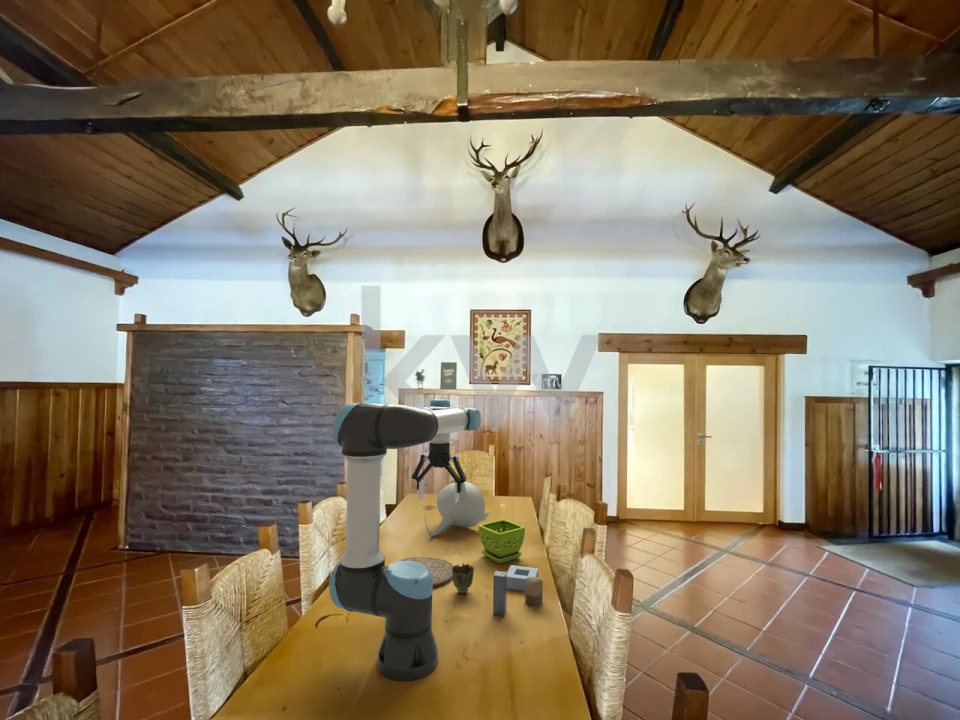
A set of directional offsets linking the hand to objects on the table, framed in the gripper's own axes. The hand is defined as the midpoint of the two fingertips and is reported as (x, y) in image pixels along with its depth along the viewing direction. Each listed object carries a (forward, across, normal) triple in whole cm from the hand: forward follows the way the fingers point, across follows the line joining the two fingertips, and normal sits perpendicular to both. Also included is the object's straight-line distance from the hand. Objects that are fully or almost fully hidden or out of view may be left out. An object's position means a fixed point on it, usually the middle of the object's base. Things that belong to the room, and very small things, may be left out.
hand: (438, 500), depth 168 cm
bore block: (+27, -31, -2) cm, 41 cm away
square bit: (+27, -27, +20) cm, 43 cm away
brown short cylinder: (+27, -36, +10) cm, 46 cm away
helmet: (+27, +6, -49) cm, 56 cm away
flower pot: (+27, -19, -23) cm, 40 cm away
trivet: (+28, +6, 0) cm, 28 cm away
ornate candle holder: (+27, -12, +10) cm, 31 cm away
